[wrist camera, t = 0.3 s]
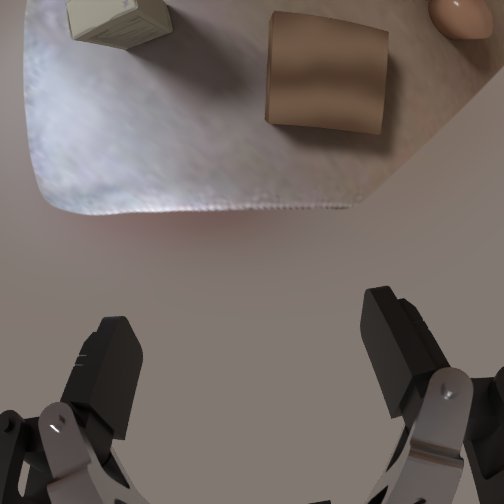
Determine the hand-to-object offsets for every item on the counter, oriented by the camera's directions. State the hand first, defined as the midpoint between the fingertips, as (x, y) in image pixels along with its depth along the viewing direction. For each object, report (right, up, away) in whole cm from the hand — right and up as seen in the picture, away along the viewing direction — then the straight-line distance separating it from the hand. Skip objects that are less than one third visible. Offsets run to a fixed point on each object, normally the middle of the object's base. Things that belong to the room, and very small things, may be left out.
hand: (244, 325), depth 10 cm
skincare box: (-12, +28, +16) cm, 34 cm away
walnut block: (+8, +22, +20) cm, 31 cm away
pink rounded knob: (+26, +33, +14) cm, 45 cm away
